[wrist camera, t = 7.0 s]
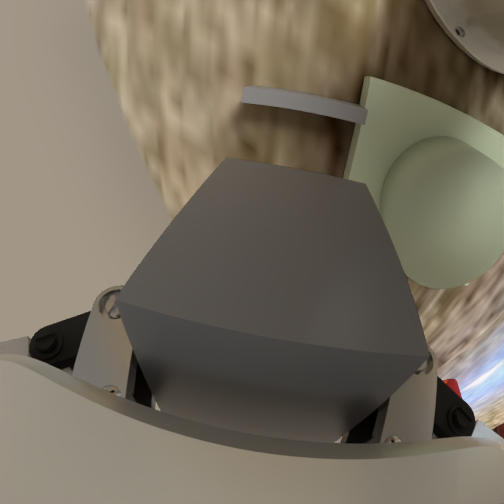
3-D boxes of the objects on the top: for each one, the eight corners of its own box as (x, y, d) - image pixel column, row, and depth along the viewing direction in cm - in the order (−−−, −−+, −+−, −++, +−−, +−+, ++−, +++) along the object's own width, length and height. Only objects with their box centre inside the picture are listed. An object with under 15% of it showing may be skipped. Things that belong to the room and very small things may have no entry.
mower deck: (515, 144, 14) (557, 172, 9) (460, 272, 22) (481, 316, 17) (255, 56, 16) (234, 49, 11) (238, 226, 24) (219, 271, 19)
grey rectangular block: (365, 183, 9) (430, 355, 4) (324, 303, 13) (320, 451, 7) (226, 157, 10) (114, 299, 4) (219, 283, 13) (167, 423, 7)
